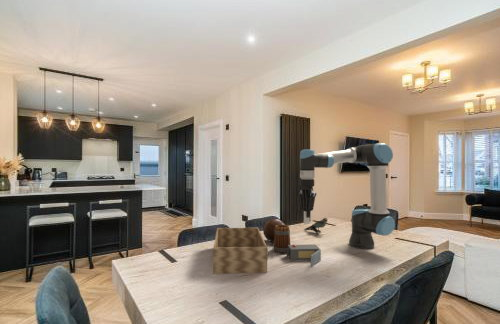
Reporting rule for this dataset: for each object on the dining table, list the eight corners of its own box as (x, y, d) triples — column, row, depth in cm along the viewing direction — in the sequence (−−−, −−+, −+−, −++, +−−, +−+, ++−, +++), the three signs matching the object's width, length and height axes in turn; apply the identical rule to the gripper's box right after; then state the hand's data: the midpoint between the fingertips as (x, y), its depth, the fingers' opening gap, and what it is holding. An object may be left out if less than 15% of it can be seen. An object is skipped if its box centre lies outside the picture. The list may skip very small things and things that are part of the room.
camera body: (315, 254, 150) (315, 242, 150) (320, 259, 142) (320, 247, 142) (285, 255, 149) (285, 243, 149) (289, 260, 141) (289, 247, 141)
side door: (318, 259, 143) (319, 248, 143) (321, 260, 142) (321, 248, 142) (310, 266, 133) (310, 254, 133) (312, 267, 132) (312, 255, 132)
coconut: (290, 242, 174) (290, 220, 174) (272, 246, 165) (272, 222, 166) (275, 237, 186) (275, 216, 186) (258, 240, 178) (258, 218, 178)
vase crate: (257, 246, 165) (258, 227, 165) (267, 272, 125) (267, 247, 125) (216, 247, 163) (217, 228, 163) (213, 273, 123) (213, 248, 123)
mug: (290, 254, 150) (290, 228, 150) (272, 253, 152) (272, 227, 153) (291, 246, 166) (291, 222, 166) (275, 245, 168) (275, 221, 168)
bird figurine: (299, 230, 203) (311, 210, 196) (307, 228, 210) (318, 209, 203) (312, 242, 195) (325, 222, 188) (319, 240, 202) (332, 220, 195)
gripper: (294, 178, 143) (293, 221, 143) (308, 179, 131) (308, 226, 131) (305, 178, 146) (304, 220, 146) (320, 179, 134) (320, 225, 134)
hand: (306, 223), depth 138 cm, fingers closed
